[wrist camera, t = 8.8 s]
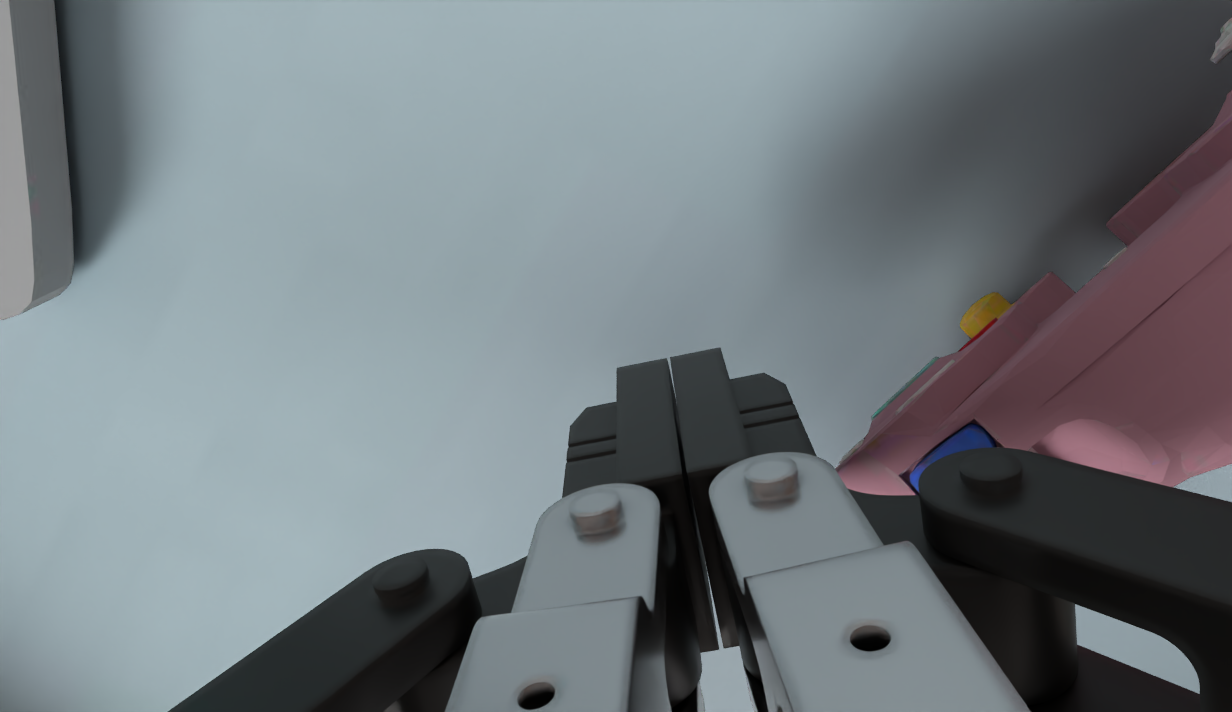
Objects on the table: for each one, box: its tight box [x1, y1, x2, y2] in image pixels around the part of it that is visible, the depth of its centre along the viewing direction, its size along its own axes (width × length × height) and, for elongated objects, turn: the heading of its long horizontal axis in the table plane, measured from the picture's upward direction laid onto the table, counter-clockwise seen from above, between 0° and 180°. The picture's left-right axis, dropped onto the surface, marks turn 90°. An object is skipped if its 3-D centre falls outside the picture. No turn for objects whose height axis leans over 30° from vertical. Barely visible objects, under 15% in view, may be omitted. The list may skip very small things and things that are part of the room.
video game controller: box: [835, 17, 1232, 495], centre depth 13 cm, size 10×5×7 cm, turn 139°
